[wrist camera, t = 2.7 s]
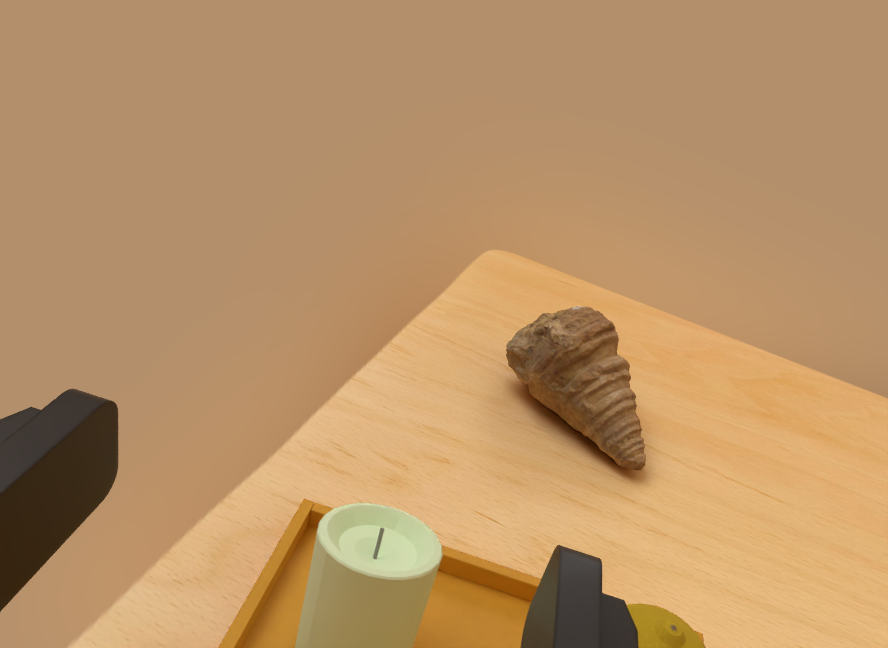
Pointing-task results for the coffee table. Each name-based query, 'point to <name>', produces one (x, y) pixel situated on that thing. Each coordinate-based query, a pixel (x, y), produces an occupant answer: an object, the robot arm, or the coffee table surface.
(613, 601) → the robot arm
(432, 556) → the candle
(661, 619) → the lemon
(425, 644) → the yellow tray
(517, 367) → the seashell
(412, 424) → the coffee table surface
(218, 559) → the coffee table surface
